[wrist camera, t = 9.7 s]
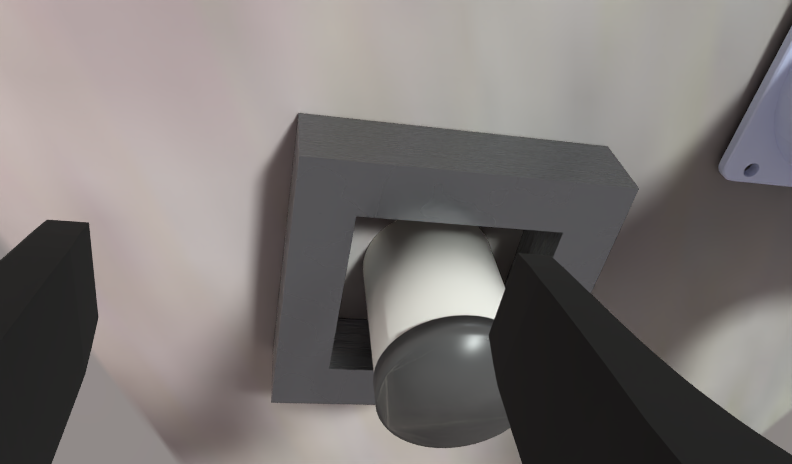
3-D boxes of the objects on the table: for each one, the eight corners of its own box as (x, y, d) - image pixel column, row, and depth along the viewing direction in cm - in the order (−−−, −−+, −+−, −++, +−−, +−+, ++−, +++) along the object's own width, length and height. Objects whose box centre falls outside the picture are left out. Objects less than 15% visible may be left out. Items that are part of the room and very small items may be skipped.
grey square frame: (607, 146, 22) (639, 188, 20) (520, 359, 28) (537, 408, 26) (298, 113, 20) (298, 155, 18) (272, 350, 26) (271, 402, 24)
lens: (519, 257, 24) (571, 384, 20) (426, 332, 26) (454, 466, 21) (428, 185, 22) (461, 308, 17) (333, 272, 24) (340, 407, 19)
